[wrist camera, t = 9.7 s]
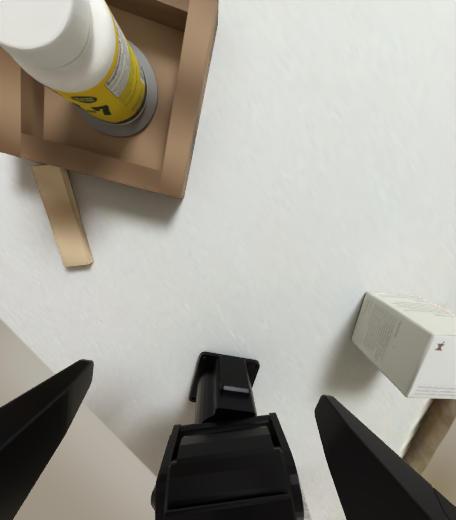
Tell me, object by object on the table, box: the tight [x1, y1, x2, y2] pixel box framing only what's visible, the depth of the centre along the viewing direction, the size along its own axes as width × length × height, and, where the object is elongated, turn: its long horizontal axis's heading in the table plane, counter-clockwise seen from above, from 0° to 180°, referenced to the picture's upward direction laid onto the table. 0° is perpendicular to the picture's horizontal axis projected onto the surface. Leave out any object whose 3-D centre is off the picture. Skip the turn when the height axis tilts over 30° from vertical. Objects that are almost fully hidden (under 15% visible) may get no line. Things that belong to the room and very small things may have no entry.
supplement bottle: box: [0, 0, 148, 125], centre depth 11 cm, size 5×5×8 cm
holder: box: [0, 0, 218, 198], centre depth 15 cm, size 12×12×3 cm
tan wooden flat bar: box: [31, 165, 93, 267], centre depth 18 cm, size 8×2×1 cm, turn 5°
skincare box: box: [352, 292, 456, 399], centre depth 20 cm, size 6×6×7 cm
